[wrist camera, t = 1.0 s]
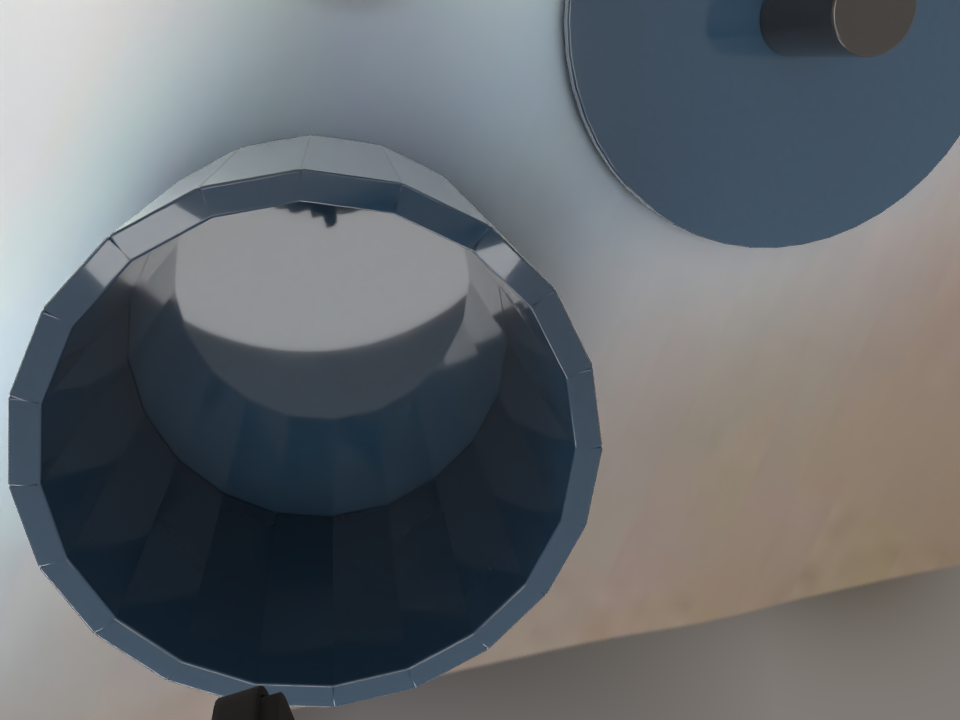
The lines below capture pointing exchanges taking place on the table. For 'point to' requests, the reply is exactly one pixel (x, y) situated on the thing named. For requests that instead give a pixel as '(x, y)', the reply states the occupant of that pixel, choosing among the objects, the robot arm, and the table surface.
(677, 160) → the lid
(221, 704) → the robot arm
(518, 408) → the pot
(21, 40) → the table surface
